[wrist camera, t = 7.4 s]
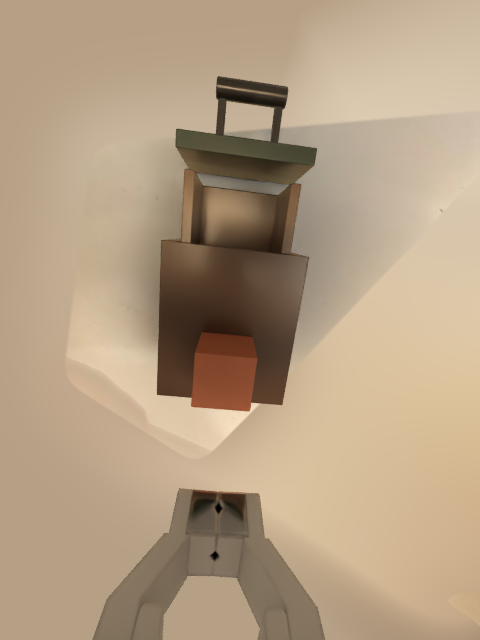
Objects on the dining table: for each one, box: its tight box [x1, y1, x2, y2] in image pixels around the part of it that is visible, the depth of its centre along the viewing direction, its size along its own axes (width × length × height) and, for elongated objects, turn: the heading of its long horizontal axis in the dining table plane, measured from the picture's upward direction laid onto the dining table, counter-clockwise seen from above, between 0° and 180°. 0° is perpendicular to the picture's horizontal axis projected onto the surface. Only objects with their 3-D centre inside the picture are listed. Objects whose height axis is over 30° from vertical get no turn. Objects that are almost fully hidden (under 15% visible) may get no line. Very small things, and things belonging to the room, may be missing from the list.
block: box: [191, 332, 257, 411], centre depth 22 cm, size 4×4×4 cm
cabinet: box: [157, 239, 309, 405], centre depth 28 cm, size 14×12×10 cm
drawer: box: [176, 76, 317, 255], centre depth 25 cm, size 17×10×8 cm, turn 174°
